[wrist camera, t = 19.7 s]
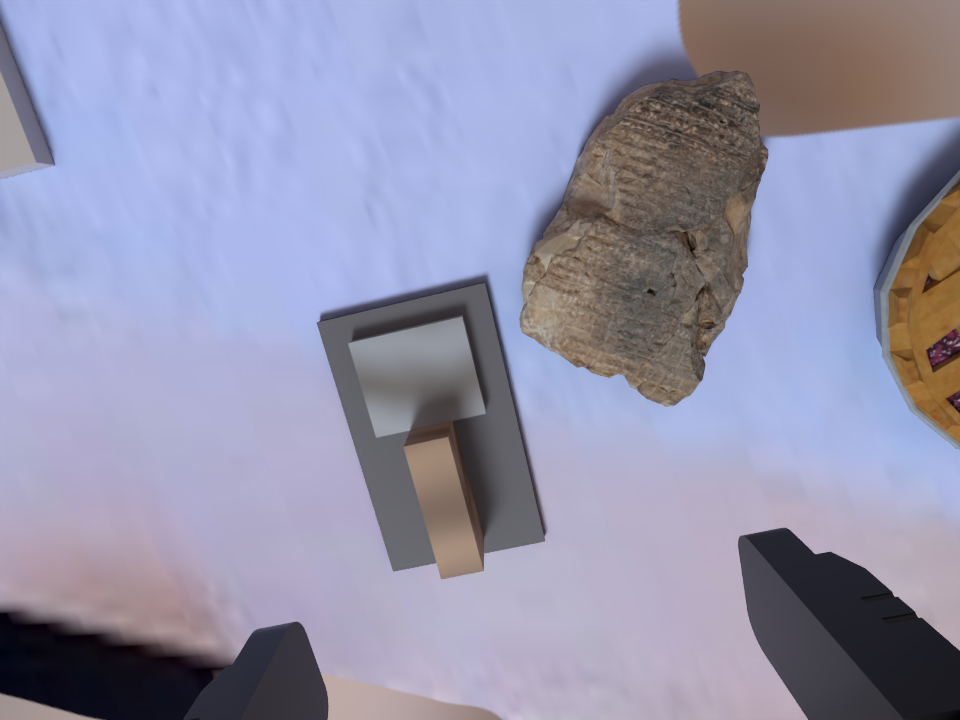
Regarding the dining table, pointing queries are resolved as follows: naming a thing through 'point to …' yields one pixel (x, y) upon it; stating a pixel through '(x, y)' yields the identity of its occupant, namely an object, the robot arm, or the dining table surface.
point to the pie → (925, 313)
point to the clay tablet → (651, 236)
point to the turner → (429, 426)
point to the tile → (18, 122)
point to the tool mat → (482, 438)
